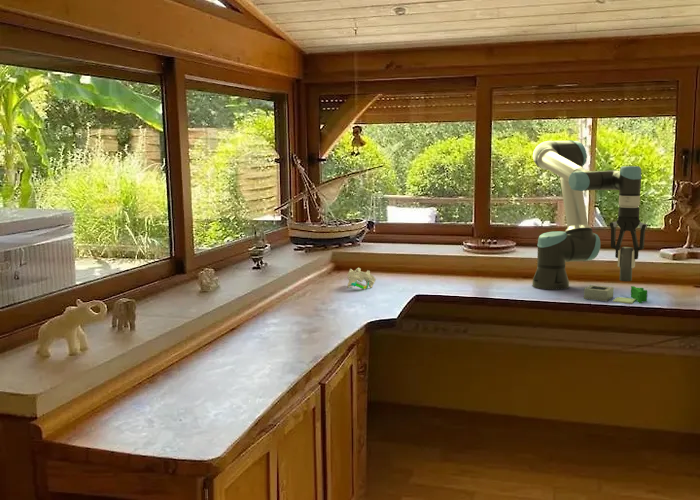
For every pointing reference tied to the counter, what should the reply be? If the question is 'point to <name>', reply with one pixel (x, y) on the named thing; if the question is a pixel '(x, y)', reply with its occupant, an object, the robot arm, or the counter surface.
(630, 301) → the pad
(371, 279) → the jaw support
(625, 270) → the grey rectangular bar
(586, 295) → the housing
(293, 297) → the counter surface
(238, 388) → the counter surface
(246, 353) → the counter surface
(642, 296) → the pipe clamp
